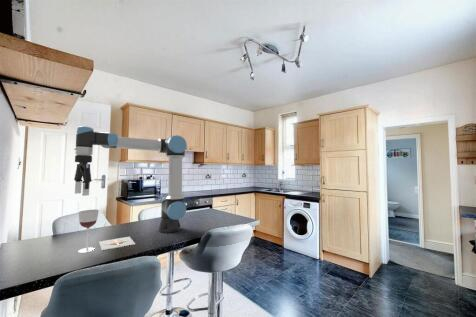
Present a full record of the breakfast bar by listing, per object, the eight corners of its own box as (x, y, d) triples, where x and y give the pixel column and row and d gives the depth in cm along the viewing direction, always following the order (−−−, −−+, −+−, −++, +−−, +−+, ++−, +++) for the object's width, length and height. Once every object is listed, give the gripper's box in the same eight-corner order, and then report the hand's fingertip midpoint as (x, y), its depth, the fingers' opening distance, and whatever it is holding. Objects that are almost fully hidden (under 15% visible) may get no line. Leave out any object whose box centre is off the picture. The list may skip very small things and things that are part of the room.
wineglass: (72, 251, 108) (74, 212, 109) (89, 246, 116) (91, 209, 117) (84, 253, 105) (86, 213, 106) (100, 247, 113) (102, 210, 115)
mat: (129, 237, 132) (129, 236, 132) (135, 244, 119) (135, 243, 119) (98, 242, 122) (98, 241, 122) (101, 250, 109) (101, 249, 109)
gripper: (69, 155, 120) (66, 193, 119) (82, 153, 104) (80, 197, 103) (84, 156, 126) (82, 192, 125) (99, 154, 110) (97, 195, 109)
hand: (81, 194), depth 114 cm, fingers open, 13 cm apart
